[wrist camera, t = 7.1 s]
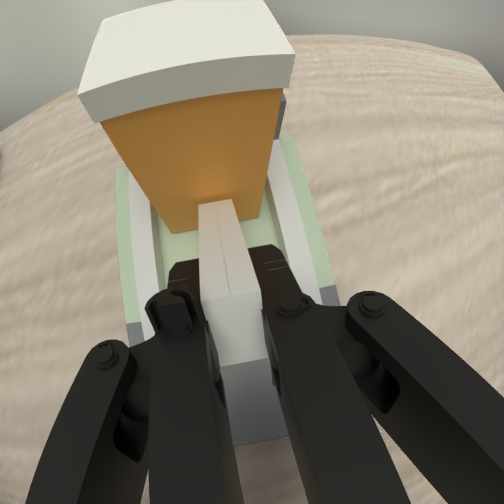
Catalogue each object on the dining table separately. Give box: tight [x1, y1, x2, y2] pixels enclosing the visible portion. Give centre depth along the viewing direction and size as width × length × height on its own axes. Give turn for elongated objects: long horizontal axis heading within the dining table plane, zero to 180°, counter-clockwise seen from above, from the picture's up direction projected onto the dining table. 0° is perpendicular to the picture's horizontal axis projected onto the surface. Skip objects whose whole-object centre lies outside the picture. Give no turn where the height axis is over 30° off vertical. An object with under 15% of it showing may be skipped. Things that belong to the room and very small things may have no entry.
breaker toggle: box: [77, 0, 295, 234], centre depth 11 cm, size 4×5×11 cm
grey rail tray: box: [116, 92, 340, 446], centre depth 14 cm, size 18×12×7 cm, turn 12°
